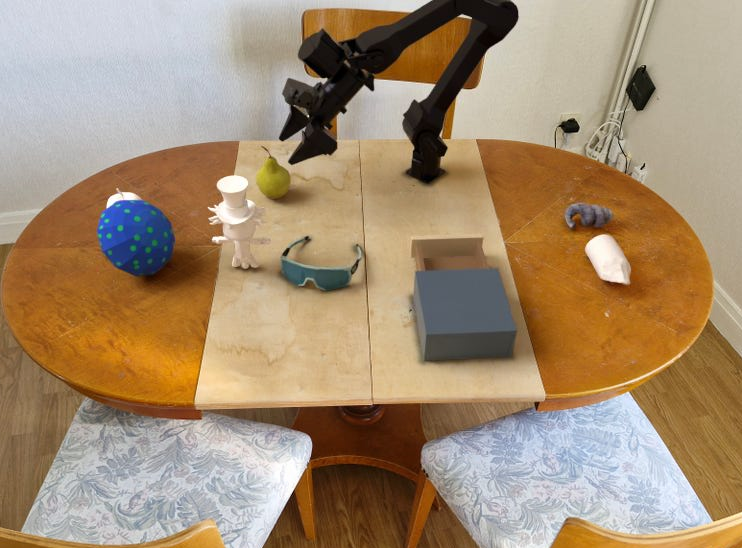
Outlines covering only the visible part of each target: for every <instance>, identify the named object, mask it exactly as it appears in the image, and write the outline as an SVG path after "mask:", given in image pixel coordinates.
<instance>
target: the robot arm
mask: <svg viewBox="0 0 742 548" xmlns="http://www.w3.org/2000/svg"><path fill="white" fill-rule="evenodd" d="M460 16H466V17H469V18H471V20H470V25H469V29H468V32H467V35H466V36H465V38H464V39H463V41H462V43H461V45H459V48H458V49H457V51H456V52H455V54H454V55H453V57H452V58H451V59H450V61H449V63H448V65H447V66H446V67H445V69H444V70H443V72H442V74H441V75H440V77H439V78H438V80H437V81H436V83H435V85H434V86H433V88H432V89H431V91H430V92H429V94H428V95H427V96H426V98H424V99H422V100H420V101H418V100H416V99H415V98H414V99H413V100H412V101H411V103H410V105H409V107H408V108H407V110H406V111H405V112H404V113H403V114H402V116H403V119H402V122H401V125H402V130H403V132H404V134H405V135H406V137H407V139H408V140H409V142H410V143H411V145H412V146H413V150H412V155H411V157H412V158H411V161H410V162H411V163H410V168H408V169H406V170H405V175H408V176H409V177H412V178H413V179H416V180H418V181H420V182H422V183H424V184H426V185H430V184H431V183H433V182H435V181H436V180H437V179H439V178H440V177H442V176H444V175H445V174H446V170H445V169H444V168H442V167H441V161H442V158H443V157H445V156H446V154H447V152H448V149H449V147H448V146H447V143H446V142H445V141H444V140H443V138H442V136H440V135H441V134H442V131H443V129H444V123H445V119H446V115H447V112H448V110H449V109H450V108H451V106H452V105H453V103H454V101H455V100H456V98H457V97H458V95H459V94H460V92H461V91H462V89H463V88H464V86H465V85H466V83H467V82H468V80H469V79H470V77H471V76H472V74H473V73H474V71H475V70H476V68H477V67H478V65H479V64H480V63H481V61H482V59H483V58H484V56H485V55H486V54H487V52H488V51H489V50H490V49H491V48H492V47H494V46H495V45H497V44H499V43H500V42H502V41H503V40H504V39H505V38H507V36H508V35H509V34H510V33H511V31H512V30H513V29H515V27H516V25H517V24H518V21H519V20H520V19H519V18H520V16H519V8H518V6H517V4H516V3H514V1H513V0H429V1H428V2H427V3H425V4H423V5H422V6H420V7H418V8H416V9H415V10H414V11H412V12H410V13H408V14H407V15H405V16H403V17H402V18H400V19H399V20H397V21H395V22H393V23H390V24H383V25H378V26H375V27H372V28H370V29H367V30H365V31H363V32H361V33H360V34H358V35H357V37H352V38H348V39H343V40H340V41H336V39H334V38H333V37H332V36H331V35H330V33H329V32H328V30H326V29H325V28H324V27H321V28H320V30H319V31H318V32H314V33H312V34H311V35H309V36H307V37H306V38H304V40H303V41H302V43H301V44H300V47H299V49H298V52H297V58H298V59H299V60H300V61H301V62H302V63H303V64H304V65H305V66H307V67H308V68H309V70H311V71H312V72H313V73H314V74H316V75H317V76H318V77H319V78H320V79H323V80H324V79H327V80H325V82H324V83H323V82H321V81H318V82H316V84H315V85H314V86H312V85H310V84H308V83H306V82H303V81H300V80H297V79H295V78H291V77H288V78H287V79H286V81H285V84H284V87H283V89H282V92H281V95H282V96H283V99H284V102H285V103H286V104H287V105H288V109H289V112H288V115H287V118H286V120H285V122H284V124H283V127H282V129H281V130H280V131H281V132H280V134H279V135H278V140H279V141H280V142H282V143H283V142H285V141H286V140H289V139H290V138H292V137H293V136H294V135H296V134H298V133H299V132H301V141H300V142H299V144H298V145H297V146H296V148H295V149H294V150H293V152H292V154H291V155H290V157H289V158H288V160H287V163H288V164H289V165H291V166H294V165H296V164H299V163H302V162H304V161H306V160H310V159H314V158H316V157H319V156H323V155H324V156H327V155H328V156H330V157H331V156H332V155H333V154H334V153H336V151H337V150H338V149H339V148H338V141H337V138H336V136H335V135H334V133H333V132H332V131H331V130H332V128H333V127H334V125H333V121H334V120H335V119H336V118H337V116H338V115H339V114H340V113H341V114H342V115H345V114H346V113H347V112H348V109H347V107H346V106H347V105H348V104H349V103H350V102H351V101H352V100H353V99H354V97H355V96H356V95H357V94H358V93H359V92H360V91H361V89H362V88H363V87H364V86H365V87H366V88H367V89H368V90H369V91H370V92H374V91H375V78H376V76H375V75H379V74H382V73H384V72H386V70H388V69H389V68H390V67H391V66H392V65H393V64H395V63H396V62H397V61H398V60H399V59H400V57H401V55H402V54H403V53H404V51H405V50H407V48H409V47H411V46H412V45H413V44H415V43H417V42H418V41H420V40H422V39H424V38H425V37H427V36H428V35H430V34H432V33H434V32H436V31H437V30H438V29H440V28H441V27H443V26H445V25H447V24H448V23H450V22H452V21H453V20H456V19H457V18H458V17H460ZM303 129H304V130H303Z"/></svg>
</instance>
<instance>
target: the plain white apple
mask: <svg viewBox="0 0 742 548" xmlns="http://www.w3.org/2000/svg"><path fill="white" fill-rule="evenodd" d="M115 190H116V192H117V193H115V194H113V195H111V196H110V197H109V198H108V200H107V203H106V209H107V208H108V207H109V206H111V205H112V204H113V203H115V202H116V201H120V200H143V199H142V197H140V196H139V195H138V194H136V193H135V192H129V191H128V192H127V191H126V192H125V191H124V192H123V191H122V192H121V190H120V189H119V188H118V187H117V188H115Z"/></svg>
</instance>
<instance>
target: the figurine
mask: <svg viewBox="0 0 742 548" xmlns="http://www.w3.org/2000/svg"><path fill="white" fill-rule="evenodd" d="M248 186H249V181H248V180H247V178H245V177H244V176H241V175H228V176H224V177H222V178H220V179H219V180H218V181H217V183H216V188H217V190H218V191H219V192H220V194H221V196H222V199H223V201H221V202H220V203H219V204H218V205H216V204H214V207H210V206H207V209H208V210H209V211H210V212H212V213H215V214H216V215H214V216H212V217H208V220H209V221H210V223H208V224H209V225H211V226H214V225H218V224H219V225H221V224H222V233H223V236H221V235H219V236H213V237H212V239H211V241H212V243H214V244H216V245H219V244H220V245H221V244H233V245H234V250H235V253H234V254H233V258H232V262H231V266H232V268H233V267H234V268H236V267H240V265H241V267H242V269H245V270H247V269H248V268H249V267H252V268H258V267H259V266H260V265H259V263H258V261H257V260H256V258H255V256H254V255H253V253H252V252H251V244H252V245H260V246H266V245H270V244H271V238H267V237H255V238H254V236H255V233H256V230H257V227H259V228H262V227H263V226H264V225H262V224H267V223H268V221H267V220H264V219H263V218H262V217H265V214H264V213H265V212H266V209H264V208H265V207H264V206H262V207H257V205H256V203H255V202H254V201H252V200H250V199H247V189H248ZM240 260H243V262H241V264H240ZM248 260H249V262H250V264H249V262H248Z"/></svg>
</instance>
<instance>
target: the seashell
mask: <svg viewBox="0 0 742 548" xmlns="http://www.w3.org/2000/svg"><path fill="white" fill-rule="evenodd" d="M563 215H564V218H565V222H566V224H567V226H568V227H569V229H573V230H574V229H575V227H576V226H577V225H576V224H577V223H576V222H575V221H574V220H573V218H574V217H575V216H577V215H579V216H580V217H581V218H580V221H581V222H580V223H581V225H582V226H583V227H586V228H590V227H591V226H593V227H594V228H595V229H596V228H597V229H599V228H604V227H606V225H607V224H609V223H611V222H612V220H614V217H615V215H614V212H613V211H612V209H610V208H609V207H607V206H600V205H598V204H591V205H590V204H589V203H585V202H577V203H570V205H569V206H568V207H567V208H566V209H565V211H564V212H563Z"/></svg>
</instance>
